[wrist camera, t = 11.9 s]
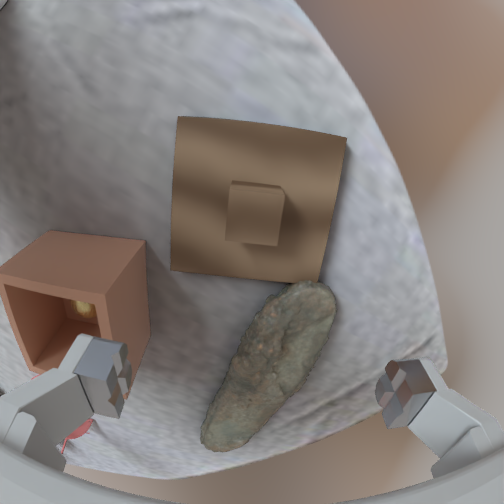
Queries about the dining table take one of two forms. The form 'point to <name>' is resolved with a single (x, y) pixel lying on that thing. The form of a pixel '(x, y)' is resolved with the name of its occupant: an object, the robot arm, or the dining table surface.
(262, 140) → the walnut lid
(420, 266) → the dining table surface
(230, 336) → the dining table surface
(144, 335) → the terracotta box
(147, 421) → the dining table surface
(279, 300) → the long grey stone
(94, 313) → the brass ball
